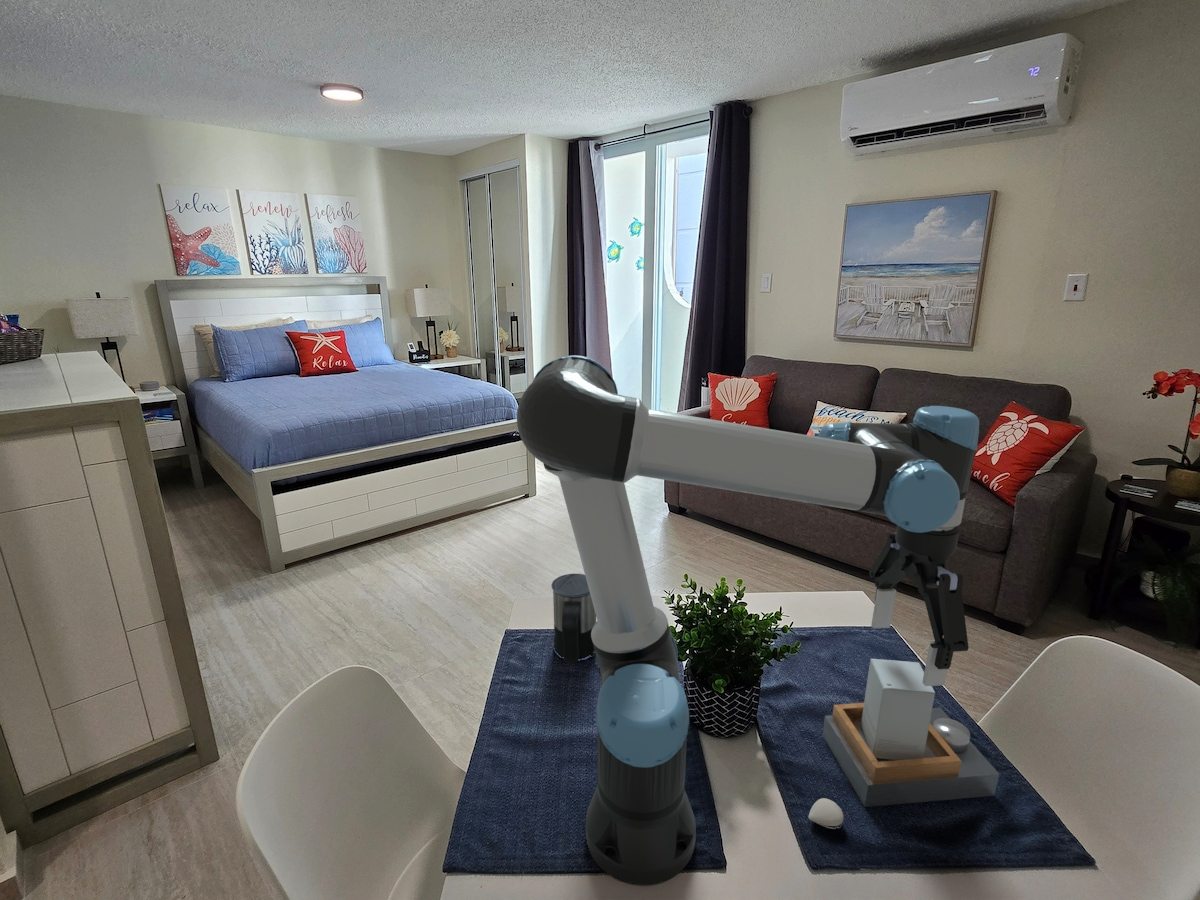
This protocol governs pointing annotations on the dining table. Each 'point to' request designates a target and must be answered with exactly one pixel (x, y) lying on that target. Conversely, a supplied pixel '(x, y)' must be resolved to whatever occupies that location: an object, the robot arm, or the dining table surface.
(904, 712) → the supplement box
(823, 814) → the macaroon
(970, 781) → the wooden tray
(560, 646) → the milk frother
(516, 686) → the dining table surface
